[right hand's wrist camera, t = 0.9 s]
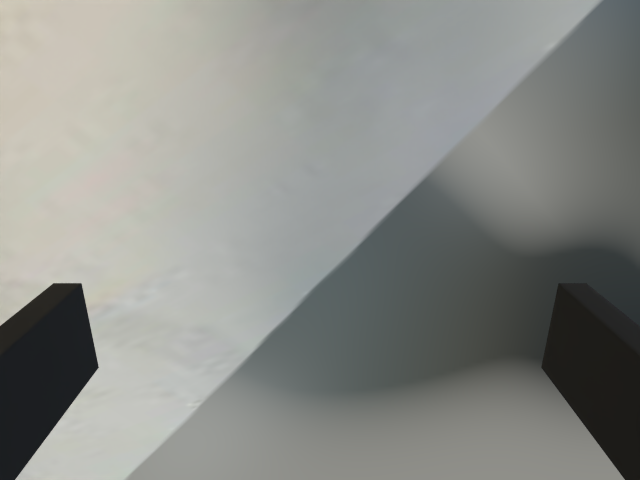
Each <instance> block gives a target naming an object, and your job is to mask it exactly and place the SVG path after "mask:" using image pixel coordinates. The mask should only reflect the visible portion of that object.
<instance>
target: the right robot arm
mask: <svg viewBox="0 0 640 480" xmlns="http://www.w3.org/2000/svg"><path fill="white" fill-rule="evenodd" d="M98 368H99V367H98V362H97V357H96V352H95V347H94V343H93V338H92V333H91V328H90V323H89V318H88V313H87V308H86V303H85V299H84V294H83V289H82V284H81V283H53V284H52V285H51V286H50V287H48V288H47V289H46V290H45V291H43V292H42V293H41V294H40V295H38V296H37V297H36V298H35V299H33V300H32V301H31V302H30V303H29V304H27V305H26V306H25V307H24V308H22V309H21V310H20V311H19V312H17V313H16V314H15V315H14V316H12V317H11V318H10V319H9V320H7V321H6V322H5V323H4V324H2V325H1V326H0V480H15V479H16V478H17V476H18V475H19V474H20V472H21V471H22V470H23V468H24V467H25V466H26V464H27V463H28V461H29V460H30V459H31V457H32V456H33V455H34V453H35V452H36V451H37V449H38V448H39V447H40V445H41V444H42V443H43V441H44V440H45V439H46V437H47V436H48V435H49V433H50V432H51V431H52V429H53V428H54V427H55V425H56V424H57V423H58V421H59V420H60V419H61V417H62V416H63V415H64V413H65V412H66V410H67V409H68V408H69V406H70V405H71V404H72V402H73V401H74V400H75V398H76V397H77V396H78V394H79V393H80V392H81V390H82V389H83V388H84V386H85V385H86V384H87V382H88V381H89V380H90V378H91V377H92V376H93V374H94V373H95V372H96V370H97V369H98ZM542 369H543V370H544V372H545V373H546V374H547V376H548V377H549V378H550V380H551V381H552V382H553V384H554V385H555V386H556V388H557V389H558V390H559V392H560V393H561V394H562V396H563V397H564V398H565V400H566V401H567V402H568V404H569V405H570V406H571V408H572V409H573V410H574V412H575V413H576V414H577V416H578V417H579V419H580V420H581V421H582V423H583V424H584V425H585V427H586V428H587V429H588V431H589V432H590V433H591V435H592V436H593V437H594V439H595V440H596V441H597V443H598V444H599V445H600V447H601V448H602V449H603V451H604V452H605V453H606V455H607V456H608V457H609V459H610V460H611V461H612V463H613V464H614V466H615V467H616V468H617V470H618V471H619V472H620V474H621V475H622V476H623V478H624V479H625V480H640V326H639V325H638V324H636V323H635V322H634V321H633V320H631V319H630V318H629V317H628V316H626V315H625V314H624V313H623V312H621V311H620V310H619V309H618V308H616V307H615V306H614V305H613V304H611V303H610V302H609V301H608V300H606V299H605V298H604V297H603V296H601V295H600V294H599V293H598V292H596V291H595V290H594V289H593V288H592V287H590V286H589V285H588V284H586V283H559V284H558V289H557V294H556V299H555V303H554V308H553V313H552V318H551V323H550V328H549V333H548V338H547V343H546V348H545V353H544V357H543V362H542Z"/></svg>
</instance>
